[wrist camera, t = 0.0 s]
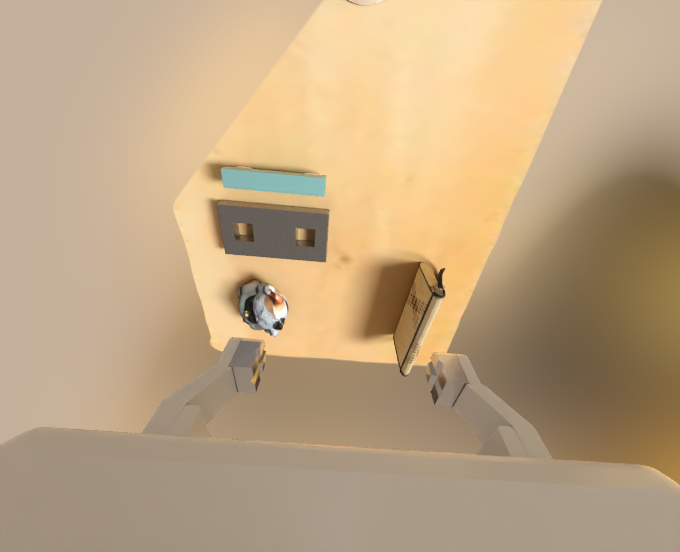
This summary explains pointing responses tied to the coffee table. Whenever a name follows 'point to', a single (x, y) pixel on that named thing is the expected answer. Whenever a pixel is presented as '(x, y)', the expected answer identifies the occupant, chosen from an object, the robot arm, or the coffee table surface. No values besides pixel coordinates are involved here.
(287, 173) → the peg strip
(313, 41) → the coffee table surface
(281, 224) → the hole plate
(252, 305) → the lucky cat figurine
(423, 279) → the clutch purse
